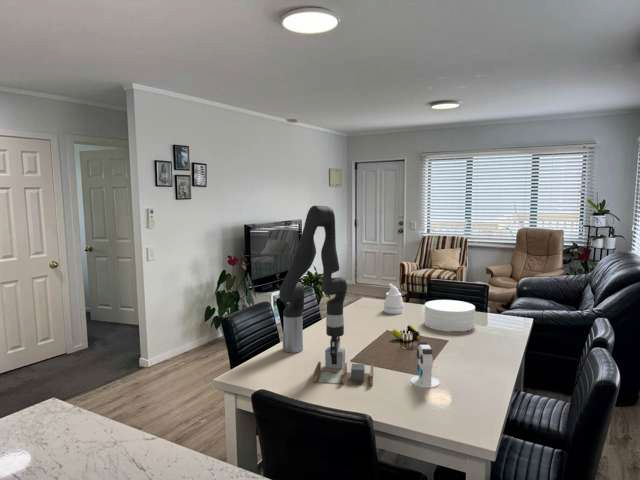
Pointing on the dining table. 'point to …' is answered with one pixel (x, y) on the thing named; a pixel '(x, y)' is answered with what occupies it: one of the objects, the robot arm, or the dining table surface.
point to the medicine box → (339, 358)
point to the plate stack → (449, 315)
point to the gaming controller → (409, 328)
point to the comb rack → (340, 377)
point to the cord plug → (357, 372)
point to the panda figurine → (424, 367)
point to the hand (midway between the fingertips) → (335, 360)
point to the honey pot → (393, 301)
